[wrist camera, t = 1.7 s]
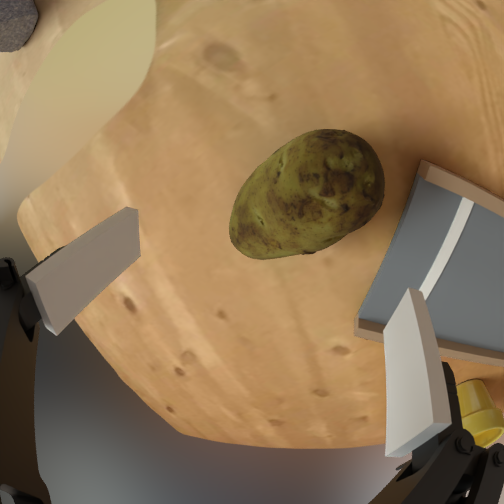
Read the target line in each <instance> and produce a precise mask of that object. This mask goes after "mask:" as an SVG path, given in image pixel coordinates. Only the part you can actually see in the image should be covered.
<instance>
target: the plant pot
mask: <svg viewBox="0 0 504 504" xmlns="http://www.w3.org/2000/svg"><path fill="white" fill-rule="evenodd" d="M456 388H457V395H458V398H459V404H460V410H461V417H462V424H463V429H466V430H468V431H469V432H470V433H471V434H472V436H473V437H474V440H475V444H476V445H478V446H481V447H483V448H485V447H487V446H489V445H490V444H492V443H493V442H495V441H496V440H497V439H498V438H500V437H501V436H502V435H503V433H504V418H503V414H502V411H501V410H500V409H499V408H496V406H495V404H494V402H493V400H492V398H491V396H490V394H489V392H488V390H487V388H486V386H485V384H484V383H483V381H481V380H479V379H473V380H468V381H466V382H463V383H461V384H459V385H457V386H456Z"/></svg>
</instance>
